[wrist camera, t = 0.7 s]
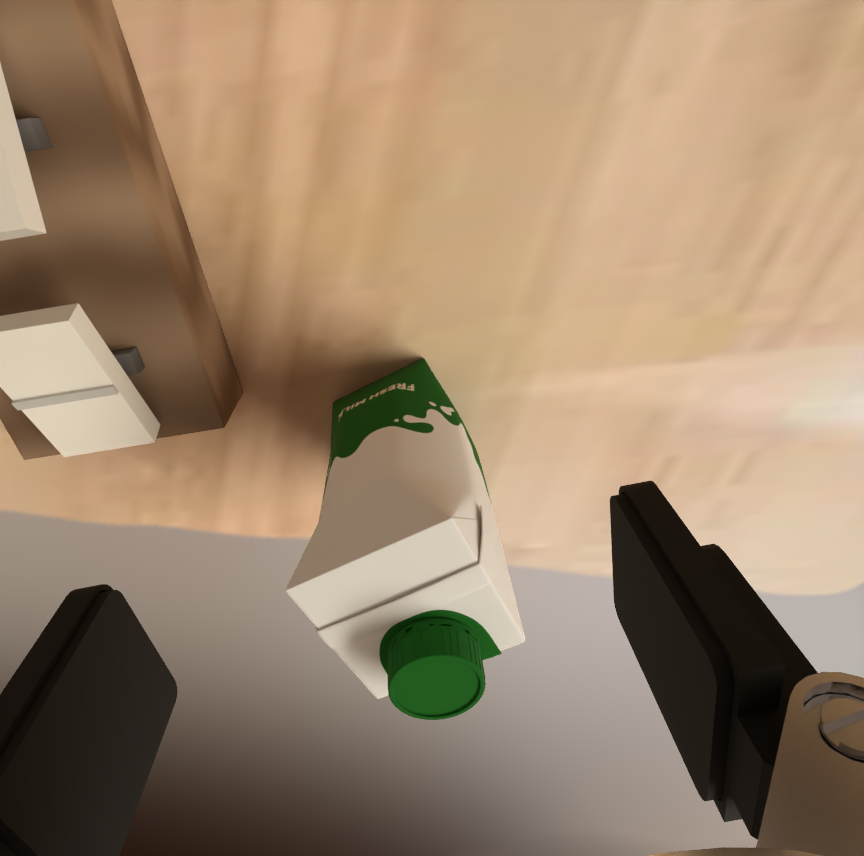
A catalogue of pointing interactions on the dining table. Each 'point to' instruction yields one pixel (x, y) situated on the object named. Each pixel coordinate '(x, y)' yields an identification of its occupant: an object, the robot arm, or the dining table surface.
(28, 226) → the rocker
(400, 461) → the milk carton
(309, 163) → the dining table surface
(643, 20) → the dining table surface
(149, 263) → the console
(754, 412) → the dining table surface
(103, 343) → the rocker
